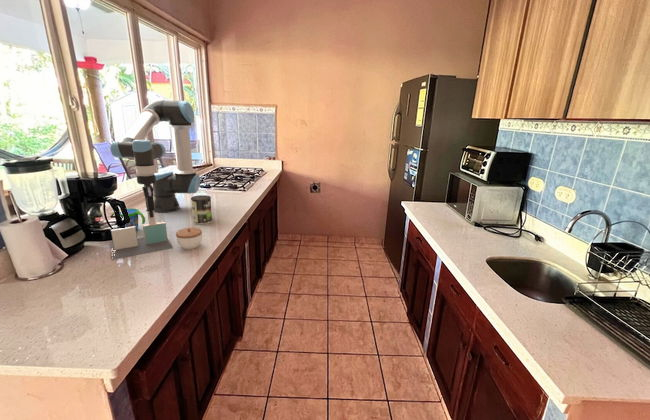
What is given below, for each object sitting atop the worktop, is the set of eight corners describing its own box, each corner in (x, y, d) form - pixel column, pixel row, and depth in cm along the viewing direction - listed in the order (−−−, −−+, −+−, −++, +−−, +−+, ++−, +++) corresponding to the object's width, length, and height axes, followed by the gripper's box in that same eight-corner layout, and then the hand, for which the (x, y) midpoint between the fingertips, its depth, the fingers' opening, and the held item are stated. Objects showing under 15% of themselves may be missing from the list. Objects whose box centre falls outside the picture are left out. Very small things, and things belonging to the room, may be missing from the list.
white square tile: (114, 248, 133) (110, 229, 130) (137, 244, 138) (135, 226, 135) (114, 250, 131) (110, 231, 129) (138, 246, 137) (135, 227, 134)
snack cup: (107, 233, 150) (103, 213, 147) (120, 226, 160) (117, 207, 157) (138, 234, 150) (135, 215, 147) (150, 227, 160) (148, 208, 157)
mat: (109, 243, 138) (109, 243, 138) (165, 234, 152) (165, 233, 151) (111, 261, 123) (111, 260, 123) (173, 249, 136) (173, 248, 136)
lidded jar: (178, 254, 132) (175, 234, 129) (176, 244, 141) (174, 225, 138) (204, 250, 137) (202, 230, 134) (201, 241, 146) (200, 223, 143)
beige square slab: (145, 243, 140) (142, 224, 137) (167, 239, 145) (164, 221, 142) (146, 244, 138) (143, 226, 136) (167, 240, 143) (165, 222, 141)
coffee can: (216, 219, 176) (214, 196, 172) (205, 225, 166) (204, 200, 162) (200, 217, 178) (198, 194, 174) (189, 223, 168) (186, 198, 164)
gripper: (134, 172, 142) (141, 220, 149) (138, 177, 132) (145, 228, 139) (153, 171, 146) (158, 218, 153) (157, 176, 136) (163, 225, 143)
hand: (152, 223), depth 146 cm, fingers closed
